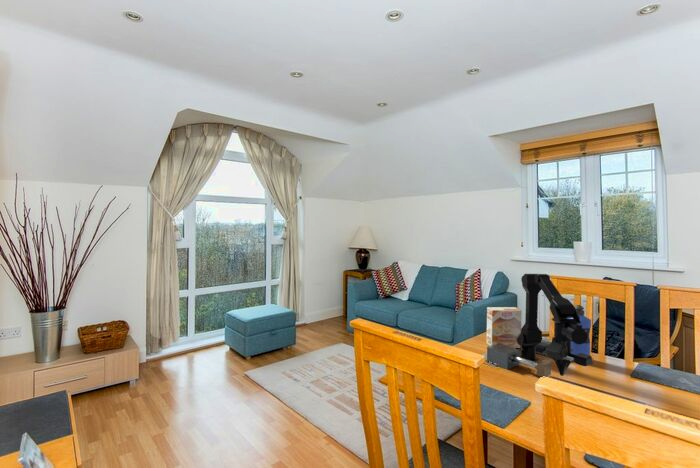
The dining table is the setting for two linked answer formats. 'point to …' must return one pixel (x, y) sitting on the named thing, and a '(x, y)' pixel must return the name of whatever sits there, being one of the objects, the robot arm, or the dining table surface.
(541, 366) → the shaft
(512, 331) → the coffeecake box
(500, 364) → the housing
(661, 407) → the dining table surface
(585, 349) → the water bottle
